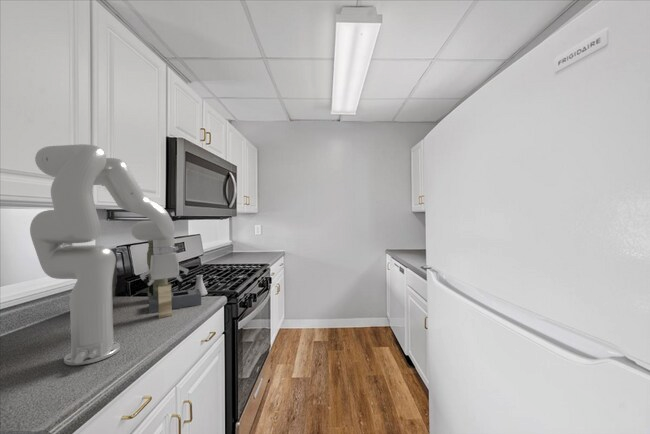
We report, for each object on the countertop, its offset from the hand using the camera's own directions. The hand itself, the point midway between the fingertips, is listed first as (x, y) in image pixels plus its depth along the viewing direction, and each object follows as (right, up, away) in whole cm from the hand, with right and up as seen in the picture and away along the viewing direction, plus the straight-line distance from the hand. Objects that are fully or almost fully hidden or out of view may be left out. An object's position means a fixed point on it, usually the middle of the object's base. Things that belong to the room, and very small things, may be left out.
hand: (166, 292), depth 117 cm
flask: (+1, -9, +28) cm, 30 cm away
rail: (-2, -9, +12) cm, 15 cm away
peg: (0, -9, -1) cm, 9 cm away
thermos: (-15, -9, +22) cm, 28 cm away
